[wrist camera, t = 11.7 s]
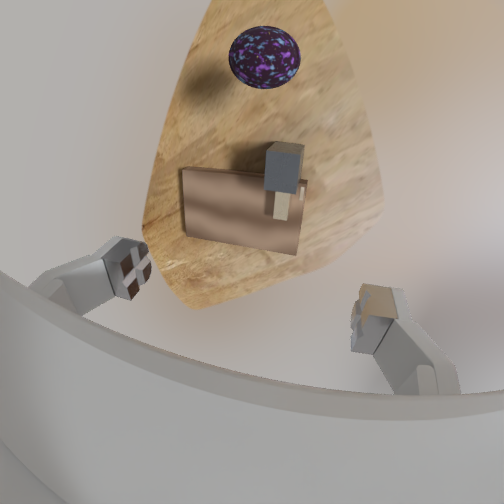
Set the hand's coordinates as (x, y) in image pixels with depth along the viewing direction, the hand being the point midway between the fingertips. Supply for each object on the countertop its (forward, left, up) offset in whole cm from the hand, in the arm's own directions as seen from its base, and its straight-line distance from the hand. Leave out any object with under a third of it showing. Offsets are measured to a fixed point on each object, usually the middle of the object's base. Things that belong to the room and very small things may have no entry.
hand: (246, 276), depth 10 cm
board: (+12, -8, -31) cm, 34 cm away
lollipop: (-10, -4, -31) cm, 33 cm away
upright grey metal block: (+6, -2, -31) cm, 31 cm away
